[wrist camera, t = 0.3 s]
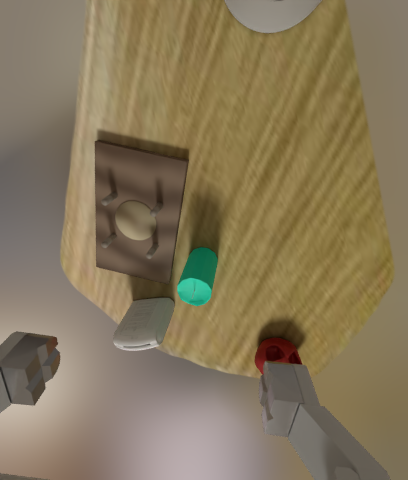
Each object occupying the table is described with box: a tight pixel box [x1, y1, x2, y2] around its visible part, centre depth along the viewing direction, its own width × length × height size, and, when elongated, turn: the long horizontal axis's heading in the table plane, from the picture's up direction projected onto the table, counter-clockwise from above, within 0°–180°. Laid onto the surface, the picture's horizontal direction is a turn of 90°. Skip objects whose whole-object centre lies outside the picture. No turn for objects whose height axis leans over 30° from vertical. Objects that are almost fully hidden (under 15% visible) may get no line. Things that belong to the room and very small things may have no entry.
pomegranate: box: [255, 338, 302, 374], centre depth 59 cm, size 10×10×9 cm
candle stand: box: [95, 140, 189, 284], centre depth 51 cm, size 26×16×6 cm, turn 170°
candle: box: [178, 247, 218, 306], centre depth 50 cm, size 6×6×12 cm
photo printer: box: [113, 298, 175, 350], centre depth 57 cm, size 10×4×12 cm, turn 104°
